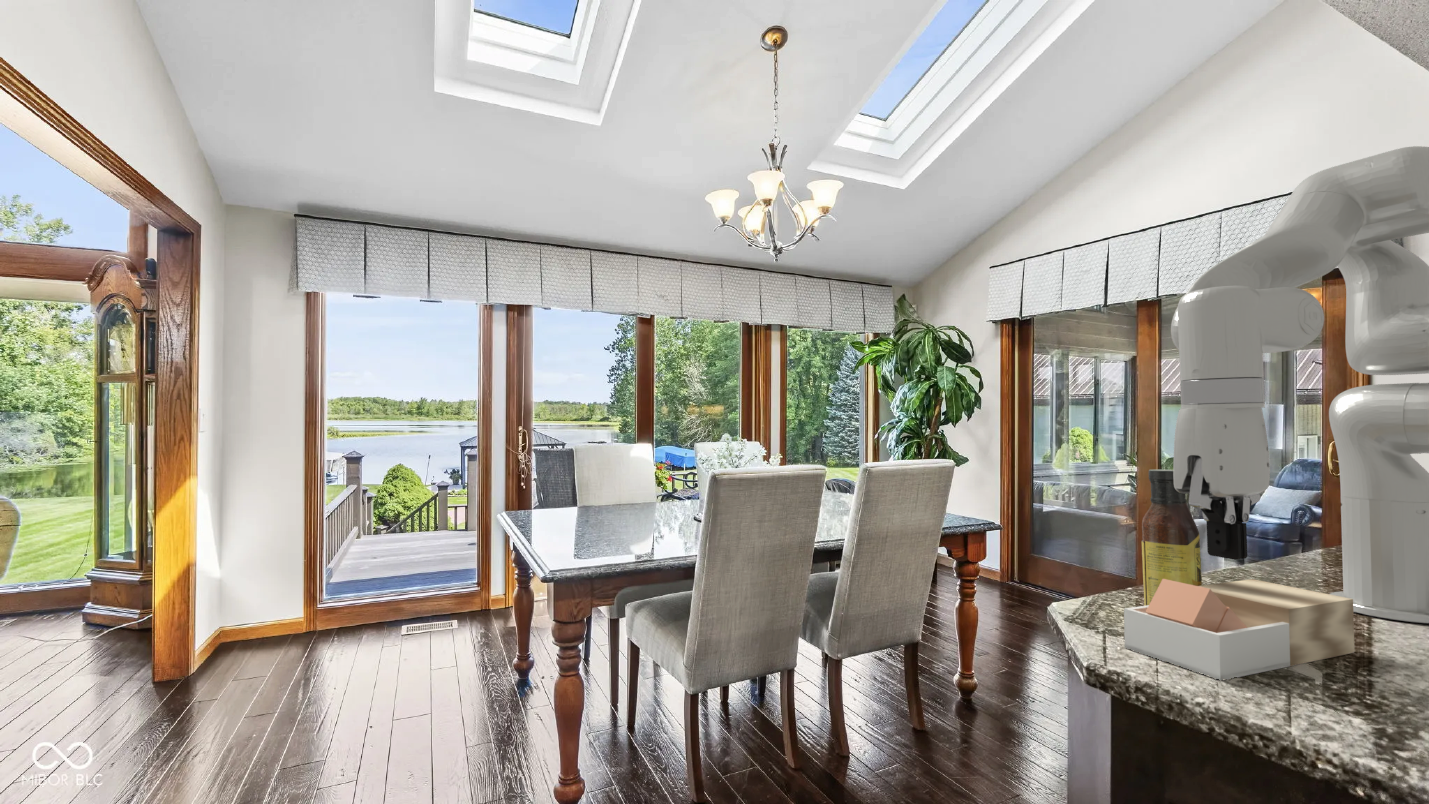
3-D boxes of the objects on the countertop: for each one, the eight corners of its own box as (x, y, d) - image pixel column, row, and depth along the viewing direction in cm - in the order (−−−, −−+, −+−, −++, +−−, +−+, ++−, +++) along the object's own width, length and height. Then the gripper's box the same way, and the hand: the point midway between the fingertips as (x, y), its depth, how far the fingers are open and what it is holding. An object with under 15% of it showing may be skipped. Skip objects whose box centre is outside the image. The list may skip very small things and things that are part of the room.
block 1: (1179, 596, 73) (1162, 578, 72) (1227, 608, 69) (1210, 588, 68) (1162, 629, 72) (1145, 611, 71) (1210, 643, 67) (1192, 624, 67)
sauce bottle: (1214, 632, 79) (1210, 472, 80) (1157, 629, 80) (1154, 470, 81) (1186, 617, 85) (1183, 468, 86) (1134, 614, 87) (1132, 467, 87)
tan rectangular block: (1253, 626, 82) (1252, 579, 82) (1354, 652, 72) (1353, 599, 73) (1191, 636, 77) (1190, 587, 78) (1290, 666, 68) (1288, 609, 68)
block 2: (1181, 595, 73) (1168, 620, 72) (1229, 607, 69) (1215, 634, 68) (1202, 618, 74) (1189, 643, 73) (1250, 631, 70) (1237, 658, 69)
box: (1191, 636, 77) (1190, 599, 77) (1290, 666, 68) (1289, 623, 68) (1124, 648, 73) (1123, 608, 73) (1220, 680, 64) (1219, 635, 64)
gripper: (1226, 396, 79) (1232, 545, 79) (1143, 397, 74) (1149, 556, 73) (1300, 394, 72) (1307, 557, 72) (1214, 395, 67) (1221, 570, 66)
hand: (1227, 556), depth 73 cm, fingers closed
